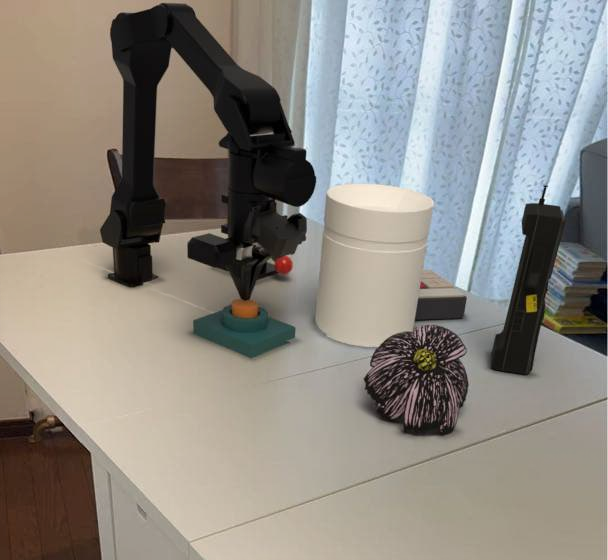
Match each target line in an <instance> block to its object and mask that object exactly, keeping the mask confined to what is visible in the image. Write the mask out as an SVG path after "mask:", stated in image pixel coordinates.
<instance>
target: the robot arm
mask: <svg viewBox="0 0 608 560" xmlns="http://www.w3.org/2000/svg"><path fill="white" fill-rule="evenodd" d="M193 8H194V7H192V6H191V5H188V4H187V3H178V2H160V3H159V4H156V5H154V6H153V7H150V8H148V9H144V10H140V11H136V12H119V13H117V15H116V16H115V17H114V18H112V21H111V25H110V29H109V37H110V42H111V55H112V60H113V62H114V65H115V66H116V68H117V70H118V72H119V74H120V76H121V78H122V83H123V85H122V86H123V87H122V141H121V142H122V143H121V144H122V148H121V149H122V150H121V181H119V183H118V185H117V187H116V188H115V190H114V192H113V193H112V195H111V200H110V208H109V214H108V215H107V217H106V219H105V220H104V222H103V223H102V225H101V227H100V228H99V233H100V237H101V241H102V244H105V245H107V246H108V247H110V248H112V260H113V272H110V273H107V274H106V275H107V276H106V278H108V279H111V280H113V281H115V282H118V283H121V284H122V285H125V286H128V287H132V288H133V287H137V286H140V285H143V284H144V283H145V282H149V281H152V280H155V279H158V278H160V276H159V275H156V274H154V273H153V255H152V249H151V244H154V243H156V244H158V243H160V241H161V235H162V230H163V228H164V227H163V226H164V224H166V219H165V210H166V201H165V198H163V197H161V196H160V194H159V193H158V191H157V189H156V187H155V184H154V179H155V178H154V177H155V153H156V130H157V129H156V127H157V125H156V124H157V105H158V104H157V103H158V86H159V84H160V82H161V80H162V79H163V77H164V76H165V74H166V72H167V70H168V69H169V67H170V61H171V54H172V49H173V50H174V51H175V52H176V54H177V55H178V56H179V57H180V58H181V59H182V60H183V61H184V63H185V65H187V66H188V68H189V69H190V70H191V71H192V72H193V73H194V75H195V76H196V77H197V78H198V80H199V81H200V82H201V83H202V84H203V85H204V87H205V88H206V89H207V90H208V91H209V93H210V94H211V96H212V98H213V100H212V101H213V111H214V112H215V114H216V116H217V117H218V119H219V120H220V122H221V124H222V125H223V127H224V129H225V130H226V132H227V133H226V134H225V136H223V137H221V139H220V140H219V141H218V147H220V148H222V149H226V150H228V169H227V170H228V171H227V192H226V193H223V194H221V196H220V197H221V200H220V203H222V204H226V205H227V217H226V218H227V220H226V221H227V223H224V224H221V225H220V233H221V234H224V235H227V237H225V238H224V237H222V236H218V235H216V234H214V233H213V234H212V233H210V232H208V233H205V234H200V235H196V236H192V237H191V238H190V239H189V240H188V241H187V244H186V248H187V249H186V250H187V251H186V252H187V254H186V255H187V259H189V260H192V261H195V262H198V263H200V264H203V265H206V266H208V267H211V268H214V269H220V268H221V267H224V266H226V267H227V269H228V271H229V272H228V271H227V272H228V273H229V275H230V277H231V279H232V282H233V284H234V287H235V288H236V289H235V290H237V291H236V292H237V293H238V295H239V299H242V300H245V301H246V300H249V299H251V297H252V294H253V291H254V289H255V286H256V283H257V281H258V280H257V278H258V276H259V273H260V271H261V269H262V266H263V264H264V263H265V262H268V261H269V260H272V259H271V258H272V257H274V258H277V259H280V258H282V257H283V256H289V255H291V256H292V255H295V254H296V251H297V248H298V247H299V245H302V244H303V242H305V241H307V235H306V234H307V231H308V221H307V220H308V219H307V217H306V216H305V215H304V214H303V213H301V212H298V213H293V214H291V215H290V216H288V215H287V214H283V215H282V214H280V213H278V210H277V208H278V207H277V205H278V203H277V202H280V203H283V204H285V205H288V206H291V207H296V208H300V207H302V206H304V205H305V204H307V203H308V202H309V200H310V199H311V198H312V197H313V195H314V192H315V189H316V185H317V175H316V172H315V169H314V166H313V165H312V163H311V162H310V161H309V160H307V153H308V152H307V148H306V149H305V148H302V147H295V146H296V145H295V143H296V142H295V139H294V137H293V134H292V133H293V131H292V129H291V127H290V125H289V122H288V120H287V117H286V114H285V112H284V109H283V106H282V103H281V101H282V100H281V97H280V94H279V93H278V91H277V90H276V88H275V87H274V86H273V85H272V84H270V83H268V82H267V81H266V80H265V79H264V78H262V77H261V76H259V75H257V74H254V73H252V72H250V71H248V70H246V69H244V68H242V67H241V66H240V65H238V63H236V61H235V60H234V59H233V58H232V56H231V55H230V54H229V53H228V52H227V51H226V50H225V48H224V47H223V46H222V45H221V44H220V42H219V41H218V40H217V39H216V38H215V37H214V35H213V34H212V33H211V32H210V31H209V30H208V29H207V28H206V26H205V25H204V24H203V23H202V21H200V19H199V18H198V17H197V14H196V11H195V10H194V9H193ZM276 201H277V202H276Z"/></svg>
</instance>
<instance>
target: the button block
mask: <svg viewBox="0 0 608 560" xmlns="http://www.w3.org/2000/svg"><path fill="white" fill-rule="evenodd" d="M192 326H193V328H192V329H193V331H192V332H193V335H195V336H198V337H200V338H203V339H205V340H207V341H209V342H212V343H214V344H216V345H218V346H222V347H223V348H225V349H228V350H230V351H233V352H235V353H238V354H240V355H242V356H244V357H247V358H249V359H253V358H256V357H258V356H260V355H261V356H262V355H263V354H265V353H269V352H271V351H273V350H275V349H277V348H281V347H282V346H285V345H288V344H290V341H291V340H293V339H295V338H296V326H294V325H292V324H289V323H286V322H284V321H281V320H278V319H276V318H274V317H271V316H269V311H267V309H266V308H264V307H262V306H260V305H258V316H256V317H254V318H241V317H236V316H234V315H232V304H229V305H226V306H224V307H223V308H222V310H221V309H220V310H219V311H216V312H213V313H209V314H207V315H204V316H201V317H198V318H195V319H193V321H192Z"/></svg>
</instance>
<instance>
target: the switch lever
mask: <svg viewBox="0 0 608 560" xmlns="http://www.w3.org/2000/svg"><path fill="white" fill-rule="evenodd" d="M270 260H272V261H273V263H274V265H275V269H276V271H277V272H278V274H279V275H283V276H284V275H285V276H286V275H288V274H290V273H291V271H292V270H293V268H294V267H293V266H294V264H293V260H292V259H291V257H289V255H286V256H283V257H282V258H280V259H277V258H274V257H272V258H271V259H270Z"/></svg>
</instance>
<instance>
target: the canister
mask: <svg viewBox="0 0 608 560" xmlns="http://www.w3.org/2000/svg"><path fill="white" fill-rule="evenodd" d="M324 205H325V206H324V216H323V223H324V224H323V231H322V237H321V238H322V240H321V250H320V262H319V272H318V284H317V295H316V306H315V308H316V309H315V317H314V321H315V323H316V326H317V327H318V328H319V329H320V330H321V331H322V332H323V333H324V334H323V335H324V336H325V337H328V338H329V339H332V340H334V341H337V342H339V343H344V344H348V345H349V346H357V347H365V348H378V347H379V346H380V344H382V343H383V342H384V341H385V340H386V339H387V338H389V337H390V336H392V335H394V334H397V333H401V332H406V331H414V327H415V321H416V320H415V315H416V309H417V302H418V296H419V290H420V284H421V278H422V272H423V270H424V266H425V260H426V254H427V249H428V248H427V247H428V241H429V240H428V237H429V235H430V229H431V224H432V219H433V218H432V217H433V212H434V211H433V210H434V205H435V201H434V200H433V199H432V198H431V197H430V196H428V195H426V194H423V193H422V192H419V191H415V190H412V189H409V188H404V187H400V186H395V185H387V184H379V183H345V184H339V185H335V186H333V187H330V188H328V190H327V191H326V194H325V204H324Z"/></svg>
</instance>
